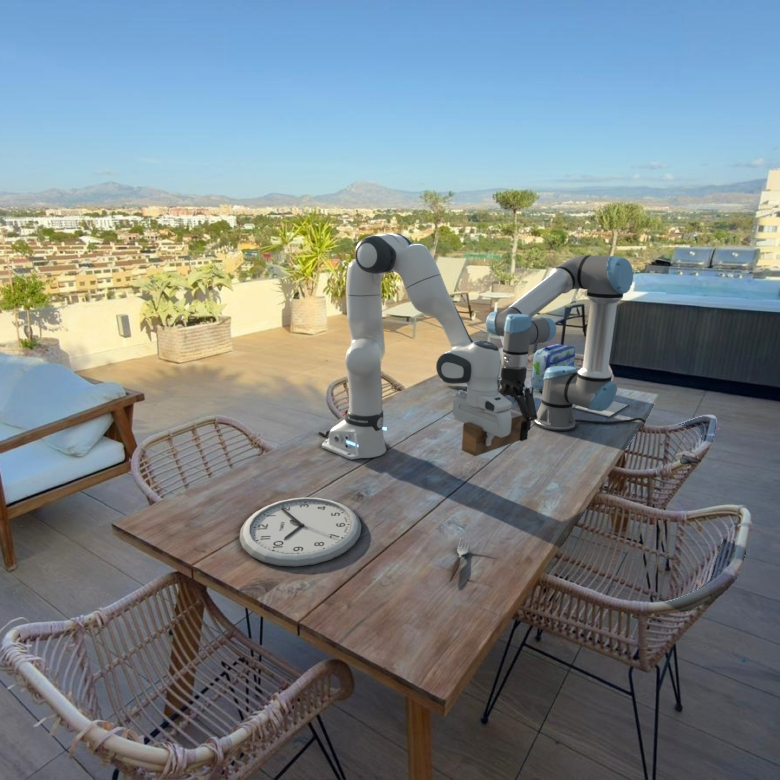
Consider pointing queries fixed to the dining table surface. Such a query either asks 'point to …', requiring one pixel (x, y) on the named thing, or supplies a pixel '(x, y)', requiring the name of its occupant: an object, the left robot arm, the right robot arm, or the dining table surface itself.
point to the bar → (476, 436)
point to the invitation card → (609, 411)
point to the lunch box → (550, 362)
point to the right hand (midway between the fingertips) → (508, 433)
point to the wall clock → (300, 532)
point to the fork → (461, 551)
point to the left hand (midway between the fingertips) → (478, 441)
